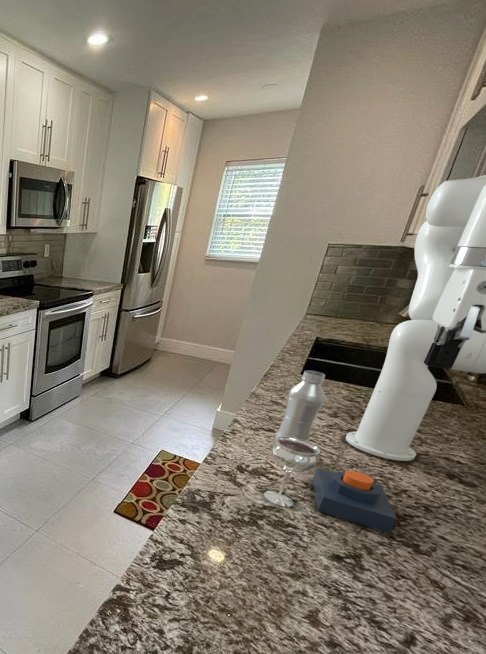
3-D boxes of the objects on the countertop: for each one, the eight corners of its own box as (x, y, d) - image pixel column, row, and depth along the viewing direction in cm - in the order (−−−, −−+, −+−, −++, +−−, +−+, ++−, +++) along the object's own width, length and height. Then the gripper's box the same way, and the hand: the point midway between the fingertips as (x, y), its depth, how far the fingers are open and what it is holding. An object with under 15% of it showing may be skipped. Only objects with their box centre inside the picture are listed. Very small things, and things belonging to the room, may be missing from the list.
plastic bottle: (310, 461, 93) (341, 379, 86) (277, 457, 94) (305, 376, 87) (296, 447, 99) (323, 370, 92) (265, 444, 100) (290, 367, 93)
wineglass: (262, 504, 78) (281, 449, 73) (254, 485, 84) (271, 433, 79) (304, 514, 76) (326, 458, 71) (293, 493, 81) (313, 440, 77)
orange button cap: (340, 475, 80) (344, 468, 79) (367, 483, 78) (371, 475, 77) (343, 485, 77) (347, 477, 76) (372, 493, 74) (375, 485, 74)
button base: (312, 480, 86) (320, 460, 84) (375, 498, 81) (384, 476, 79) (317, 511, 77) (326, 488, 75) (389, 533, 71) (401, 509, 70)
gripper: (545, 264, 59) (484, 383, 65) (499, 259, 70) (451, 360, 77) (470, 260, 63) (420, 373, 69) (438, 256, 74) (397, 352, 81)
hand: (436, 366), depth 73 cm, fingers closed
